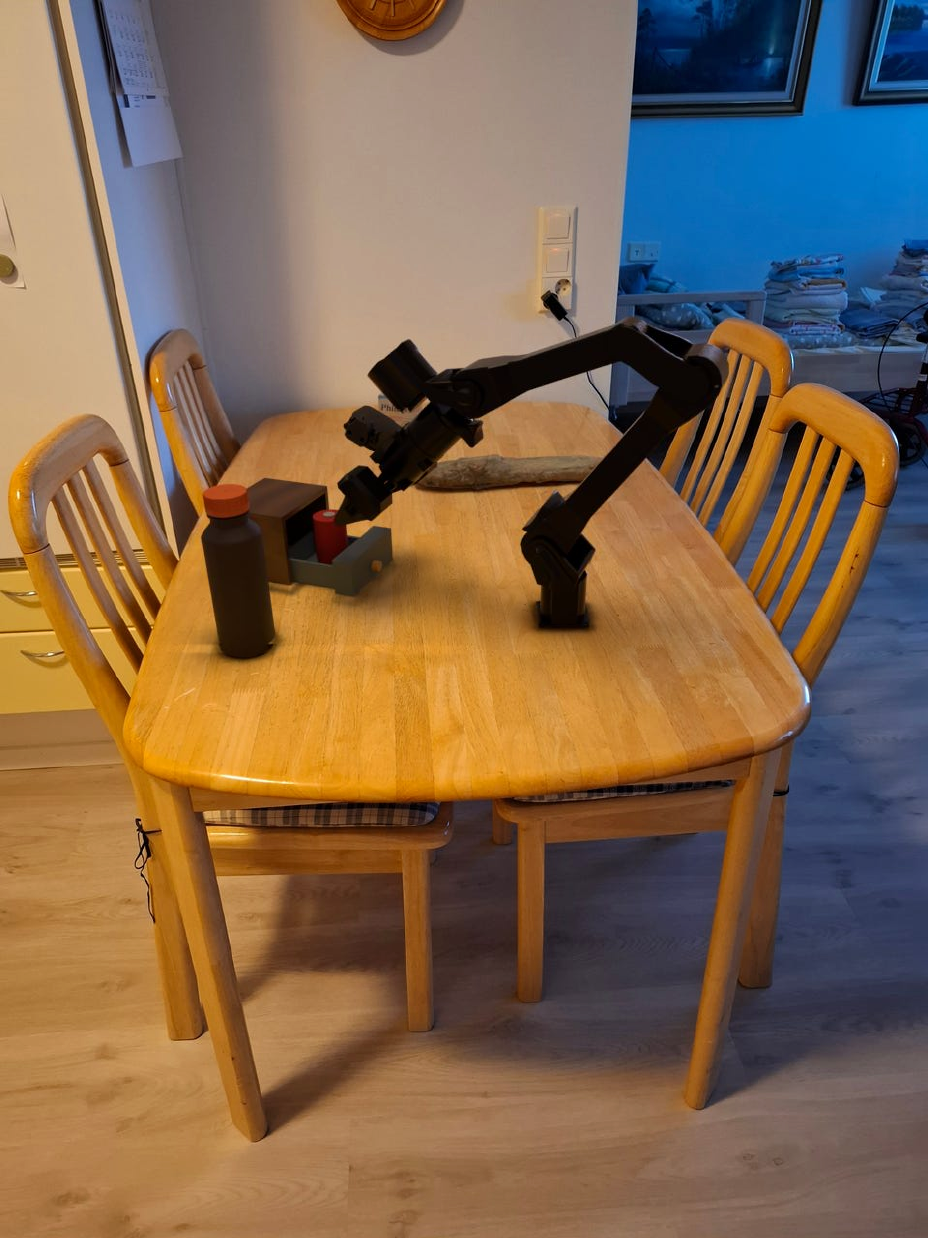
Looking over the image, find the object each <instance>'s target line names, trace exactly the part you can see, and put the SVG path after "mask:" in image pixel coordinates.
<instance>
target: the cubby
mask: <svg viewBox="0 0 928 1238" xmlns="http://www.w3.org/2000/svg"><path fill="white" fill-rule="evenodd" d="M246 488H247V492H248V499H249V506H250V507H249V510H250V511H249V514H248V518H249V519H250V520H252V521H253V522H254V523H256V524H257V525H258V526H259V528H260V529H261V532H262V539H263V547H264V554H265V561H266V569H267V576H268V583H273V584H278V585H285V586H292V584H294V582H293V581H292V572H291V564H290V556H289V547H290V546H291V545H293V544H294V543H295V542H297V541H298V540H299V539H301V538H302V537H303V536H305V535H306V534H307V533H309V532H310V531H313V532H314V524H313V515H314V514H315V513H317V512H319V511H322V510H329V509H330V504H329V503H330V501H329V493H328V486H327V485H323V484H315V483H309V482H308V483H307V482H301V481H300V482H298V481H292V480H284V479H277V478H271V477H270V478H269V477H263V478H262V479H260V480H258V481H256V482H255V483H254V484H251V485H250V486H248V487H246ZM314 542H315V539H314ZM315 551H316V548H315Z"/></svg>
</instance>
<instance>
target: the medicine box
mask: <svg viewBox="0 0 928 1238" xmlns="http://www.w3.org/2000/svg"><path fill="white" fill-rule="evenodd" d="M377 406H378V407H377V408H378V411H380V412H381V413H383V414H385V415H386V416H388V417H390V418H391V419H393V420H394V421H395V422H396V423H397V424H399V425H400V426H402V427H403V426H404V425H405V424H407V423H408V422H411V421H412V420H413V419H414V418H415V417H416V416H417V415H418V414H419V413H420V412H421V411H422V410H423V403H422V404H421V405H420V406H419V407H418V408H416V409H415V410H414V411H413V412H411V413H410V412H409V410H408V408H407V409H406V410H404V411H403V412H401V411H398V410H397V409H396V408H395V407H394V406H393V405H392V404H391V402H390V401H389V400H388V399H387V398H386V397H385V396H384V395H383V393H382V392H380V393H379V394H378V395H377Z"/></svg>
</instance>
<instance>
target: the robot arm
mask: <svg viewBox="0 0 928 1238" xmlns="http://www.w3.org/2000/svg"><path fill="white" fill-rule="evenodd" d="M620 362H621V363H623V364H624V365H626V366H628V367H629V368H631V369H632V370H634V371H635V372H636V373H637V374H638V375H640V376H641V377H642V378H644V379H645V380H646V381H647V382H649V383H650V384H651V385H653V386H655V387H657V390H656V391H655V393H654V394H653V396H652V398H651V400H650V401H649V403H648V405H647V406H646V408H645V410H644V411H643V412H642V413H641V415H640V416H639V417H638V418H637V419H636V420H635V421H634V422H633V423H632V425H630V427H629V428H628V429H627V430H626V431H625V432H624V433H623V435H622V436H621V437H620V438H619V439H618V440H617V441H616V442H615V444H614V445H613V446H612V447H611V448H610V449H609V450H608V452H607V453H606V454H604V456H603V457H601V458H602V460H601V461H600V462H599V463H598V464H597V465H596V466H595V468H594V469H593V470H592V471H591V472H590V473H589V474H588V475H587V477H586V478H585V479H584V480H582V481H580V483H579V484H578V485H577V487H576V488H575V489H573V490H572V491H571V492H569V493H568V494H566V495H565V496H562V494H561V493H560V492H559V491H558V489H555V490H554V491H553V492H552V493H551V494H550V496H549V497H548V498H547V499H546V501H545V502H544V503H543V504H542V506H541V507H540V508H537V510H536V511H535V512H534V513H533V515H532V516H531V517H530V518H529V520H528V521H527V522H526V523H525V524H524V526H523V527H522V528H521V530H522V531H523V532H525V533H524V534H523V536H522V537H521V539H520V543H519V546H520V551H521V554H522V556H523V559H524V560H525V561H526V562H527V563H528V565H530V568H531V572H532V574H533V577H534V580H535V582H536V585H538V586H540V600H537V601H536V602H535V609H536V610H535V611H536V619H537V621H536V622H537V627H538V628H540V629H589V628H590V627H591V621H590V617H589V612H588V607H587V603H586V601H587V599H586V598H587V582H588V572H587V570H586V569H587V567H588V565H589V564H590V563H591V562H592V559H593V557H594V555H595V553H596V549H597V548H595V547H594V546H593V544H592V543H591V542H590V541H589V540H588V539H587V537H586V536H585V535H584V534H583V532H584V530H585V529H586V528H587V526H588V524H589V522H590V520H591V519H592V517H593V516H594V515H595V514H596V513H597V512H598V511H599V510H600V508H602V507H603V505H604V504H605V503H606V502H607V501H608V500H609V499H610V498H611V497H612V496H613V495H614V493H616V491H618V489H620V487H621V486H622V485H623V484H624V483H625V482H626V481H627V480H628V479H629V477H630V476H631V475H632V474H633V473H634V472H635V471H636V470H637V469H638V468H639V467H640V465H642V463H644V461H646V460H647V458H648V457H649V456H650V454H652V453H653V451H654V450H655V449H657V447H658V446H659V445H660V444H661V443H662V442H663V441H664V440H665V439H666V437H668V436H669V435H670V434H671V433H673V432H675V431H676V430H678V429H679V428H681V427H683V426H685V425H686V424H688V423H690V422H691V420H693V419H695V417H697V416H698V415H700V414H701V413H702V412H704V411H705V410H706V409H708V408H709V407H710V406H711V405H713V404H714V402H716V400H717V398H718V397H719V396H720V394H721V392H722V390H723V388H724V387H725V385H726V382H727V380H728V377H729V374H730V363H729V360H728V358H727V355H726V354H725V353H724V351H722V349H720V348H719V347H717V346H716V345H714V344H709V343H705V342H703V343H694V342H692V341H690V340H688V339H686V338H684V337H683V336H680V335H678V334H675V333H673V332H670V331H667V330H663V329H661V328H658V327H656V326H654V325H652V324H650V323H648V322H646V321H644V320H643V319H641V318H639V317H637V316H636V317H635V316H627V317H623V318H622V319H621V320H619V321H618V322H616V323H614V324H611V325H608V326H605V327H602V328H599V329H595V330H593V331H590V332H588V333H584V334H582V335H578V336H575V337H573V338H569V339H567V340H564V341H561V342H558V343H555V344H552V345H549V346H547V347H544V348H540V349H538V350H534V351H531V352H528V353H524V354H515V355H513V354H511V355H508V354H507V355H498V356H491V357H485V358H484V357H483V358H479V359H477V360H475V361H473V362H471V363H470V364H468V365H467V366H465V367H453V368H446V369H444V370H442V371H440V372H439V373H438V372H437V370H435V368H434V367H433V366H432V365H431V363H429V362H428V360H427V359H426V358H425V357H424V356H423V354H422V353H421V352H420V350H419V349H418V347H417V345H416V344H415V343H414V342H413V341H412V340H411V338H407V339H405V340H403V341H402V342H400V343H399V345H398V346H396V348H394V349H393V350H392V351H390V352H389V353H388V354H387V355H386V356H385V357H384V358H382V359H380V360H378V361H377V362H376V363H375V364H374V365H373V367H371V368H370V370H369V372H368V373H367V378H369V380H370V381H371V382H372V383H373V385H375V387H376V388H377V389H378V390H379V391H380V393H383V395H384V396H385V397H386V398H387V399H388V400H389V401H390V402H391V404H392V405H393V406H394V407H395V408H396V409H397V410H398V411H401V412H403V411H404V410H406V409H407V408H408V410H409V412H410V413H411V412H413V411H414V410H415V409H416V408H418V407H419V406H420V405H421V404H422V405H423V403H425V401H427V400H428V401H429V402H428V404H426V405H425V407H424V408H422V411H421V412H420V413H419V414H418V415H417V416H416V417H415V418H414V419H413V420H412V421H411V422H408V423H407V424H405V425H404V426H403V427H402V426H400V425H399V424H397V423H396V422H395V421H394V420H393V419H391V418H390V417H388V416H386V415H385V414H383V413H381V412H380V411H379V409H376V408H374V407H373V406H370V405H367V404H366V405H363V406H361V407H359V408H358V409H356V410H354V411H353V412H352V413H351V415H350V416H349V418H348V420H347V421H346V422H345V423H344V424H343V429H344V430H345V432H344V436H345V438H346V439H347V440H348V441H350V442H351V443H353V444H355V445H356V446H358V447H360V448H363V447H364V448H365V449H367V450H369V451H371V452H372V453H371V454H370V455H369V456H368V457H369V458H370V459H371V460H372V462H374V464H376V465H377V464H378V469H379V471H380V473H379V474H378V476H377V474H376V473H375V472H374V471H373V470H372V469H371V468H370V467H369V465H368V466H367V465H362V464H361V465H360V464H358V465H357V466H355V467H353V468H352V469H351V470H349V471H348V472H347V473H345V475H343V477H341V479H339V480H338V481H337V483H336V484H337V489H338V490H339V491H340V492H341V493H342V494H343V496H344V497H343V499H342V502H341V503H340V506H339V509H337V510H338V512H337V514H336V516H335V518H334V520H333V521H334V523H335V524H336V525H337V526H339V527H340V526H344V525H346V526H348V525H352V524H355V523H359V522H364V521H369V522H373V521H374V520H376V519H377V518H378V517H379V516H380V515H382V514H383V513H384V512H385V511H386V510H387V509H388V508H390V507H391V506H392V504H394V503H393V502H394V501H393V494H395V493H398V492H400V491H402V492H405V491H406V490H407V489H409V488H411V487H413V486H415V485H417V484H419V483H418V482H419V481H421V480H422V479H424V478H425V477H426V476H427V475H428V474H430V473H431V472H432V471H433V470H434V469H435V468H436V467H437V463H438V462H439V461H440V460H441V459H442V458H443V457H444V455H445V454H446V453H447V452H449V450H450V449H452V448H453V447H454V446H455V445H456V444H457V443H458V442H459V441H460V440H462V441H464V443H465V444H466V445H467V446H468V447H469V448H471V449H472V448H474V447H475V446H477V445H478V444H479V443H480V442H481V441H483V440H484V438H485V437H484V430H483V425H484V420H482V419H480V418H482V417H484V416H486V415H488V414H489V413H492V412H493V411H495V410H497V409H499V408H501V407H503V406H504V405H506V404H508V403H510V402H511V401H513V400H514V399H516V398H519V396H521V395H523V394H525V393H527V392H529V391H533V390H535V389H538V388H542V387H545V386H549V385H550V384H551V385H552V384H553V383H557V382H561V381H563V380H566V379H569V378H572V377H576V376H580V375H583V374H585V373H588V372H591V371H595V370H597V369H598V370H599V369H600V368H604V367H606V366H607V367H608V366H610V365H613V364H617V363H620ZM479 419H480V420H479Z"/></svg>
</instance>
